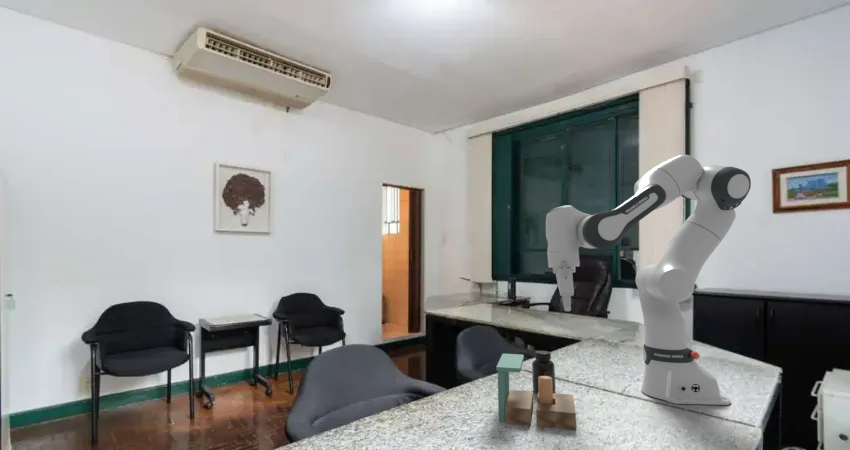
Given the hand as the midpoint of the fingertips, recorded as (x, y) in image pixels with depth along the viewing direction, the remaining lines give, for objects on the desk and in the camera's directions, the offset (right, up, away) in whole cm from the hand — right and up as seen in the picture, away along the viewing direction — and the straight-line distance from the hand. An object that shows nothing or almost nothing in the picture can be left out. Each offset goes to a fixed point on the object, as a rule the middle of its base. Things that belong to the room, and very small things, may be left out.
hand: (567, 308), depth 124 cm
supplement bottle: (-4, -28, +9) cm, 29 cm away
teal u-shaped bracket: (-18, -27, -9) cm, 33 cm away
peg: (-9, -26, -12) cm, 30 cm away
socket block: (-11, -26, -11) cm, 30 cm away
